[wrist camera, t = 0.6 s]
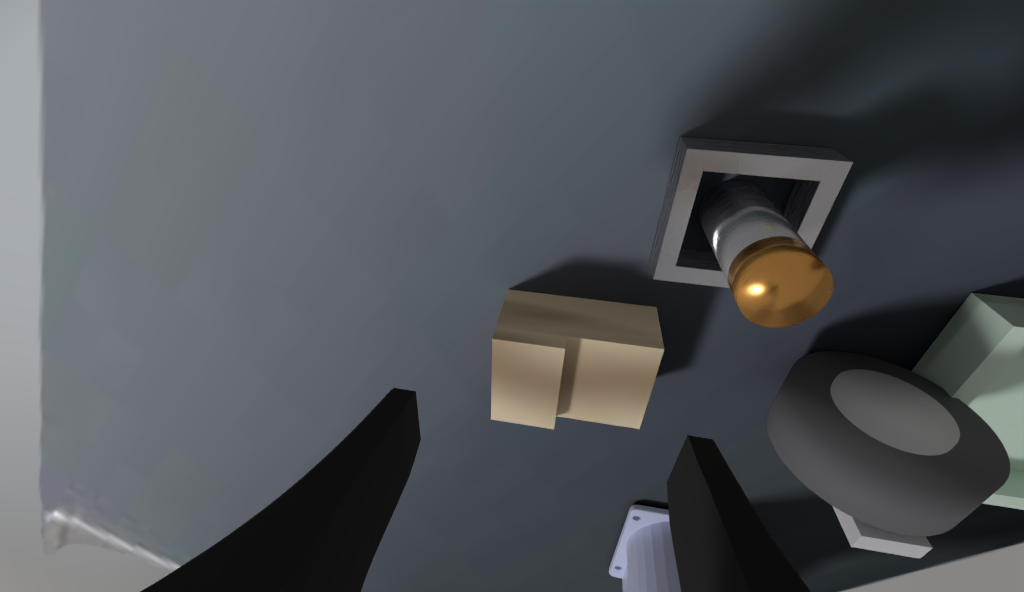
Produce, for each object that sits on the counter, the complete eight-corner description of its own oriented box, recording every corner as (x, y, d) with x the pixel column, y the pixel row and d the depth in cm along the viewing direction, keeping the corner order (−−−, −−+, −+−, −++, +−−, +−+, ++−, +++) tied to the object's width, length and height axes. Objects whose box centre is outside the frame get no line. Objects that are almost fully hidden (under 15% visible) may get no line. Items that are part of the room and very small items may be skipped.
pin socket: (775, 273, 18) (789, 294, 17) (649, 260, 19) (653, 279, 18) (831, 148, 15) (853, 162, 14) (679, 136, 16) (687, 148, 15)
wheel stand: (876, 431, 22) (972, 581, 17) (733, 411, 23) (777, 547, 17) (935, 357, 19) (1076, 507, 14) (769, 336, 20) (837, 470, 14)
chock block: (635, 380, 23) (640, 443, 20) (505, 362, 24) (491, 419, 21) (655, 304, 20) (666, 362, 17) (508, 286, 21) (492, 338, 18)
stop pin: (752, 240, 18) (811, 332, 13) (691, 233, 18) (726, 321, 13) (774, 182, 16) (850, 261, 11) (708, 177, 17) (754, 251, 12)
